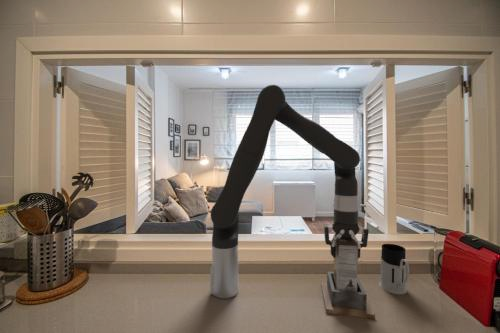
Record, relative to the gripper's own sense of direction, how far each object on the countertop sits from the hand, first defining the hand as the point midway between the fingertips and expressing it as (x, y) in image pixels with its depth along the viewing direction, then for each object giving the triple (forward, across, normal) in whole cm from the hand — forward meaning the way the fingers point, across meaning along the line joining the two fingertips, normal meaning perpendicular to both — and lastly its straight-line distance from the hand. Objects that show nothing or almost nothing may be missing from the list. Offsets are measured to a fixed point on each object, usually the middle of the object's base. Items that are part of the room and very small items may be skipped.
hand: (345, 257), depth 79 cm
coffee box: (+10, 0, 0) cm, 10 cm away
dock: (+15, 0, 0) cm, 15 cm away
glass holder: (+15, +19, +9) cm, 26 cm away
